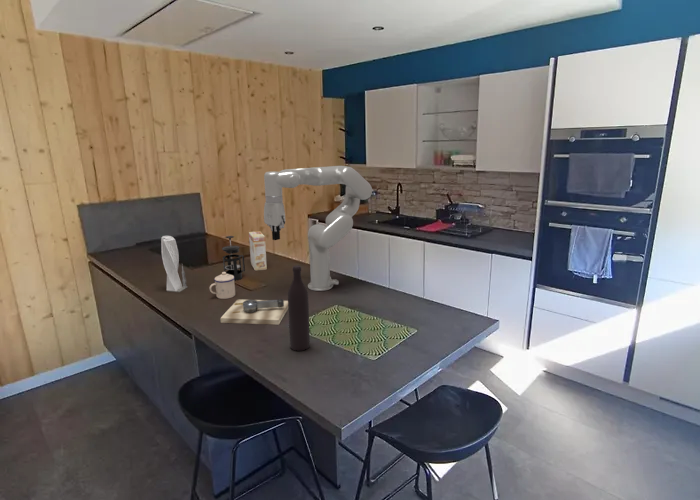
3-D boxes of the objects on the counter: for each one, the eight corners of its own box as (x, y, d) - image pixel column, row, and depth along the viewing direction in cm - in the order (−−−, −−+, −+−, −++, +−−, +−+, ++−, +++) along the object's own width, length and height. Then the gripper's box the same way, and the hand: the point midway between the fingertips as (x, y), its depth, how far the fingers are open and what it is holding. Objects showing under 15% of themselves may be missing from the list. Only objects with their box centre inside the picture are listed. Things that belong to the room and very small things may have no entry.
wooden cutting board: (290, 305, 183) (289, 299, 183) (279, 324, 164) (278, 318, 164) (237, 303, 185) (237, 297, 185) (220, 322, 166) (220, 316, 165)
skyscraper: (177, 293, 198) (170, 236, 191) (162, 292, 200) (155, 236, 192) (187, 287, 206) (181, 232, 199) (173, 286, 208) (166, 232, 200)
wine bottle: (310, 341, 150) (307, 263, 143) (309, 351, 144) (306, 269, 136) (291, 341, 150) (287, 263, 142) (289, 351, 143) (285, 269, 135)
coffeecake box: (267, 269, 233) (265, 236, 228) (254, 271, 231) (252, 237, 226) (262, 262, 247) (260, 230, 242) (250, 263, 244) (248, 231, 239)
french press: (226, 282, 212) (222, 239, 206) (220, 277, 220) (216, 236, 214) (248, 278, 219) (245, 236, 213) (241, 273, 226) (238, 233, 220)
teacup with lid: (230, 290, 201) (228, 268, 198) (239, 296, 194) (237, 272, 191) (206, 296, 194) (204, 273, 190) (214, 302, 187) (212, 278, 184)
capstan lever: (234, 312, 168) (233, 306, 168) (235, 306, 174) (235, 300, 173) (284, 309, 172) (283, 302, 171) (283, 303, 177) (283, 297, 177)
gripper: (256, 199, 186) (259, 238, 190) (278, 202, 176) (280, 243, 181) (269, 197, 191) (272, 235, 196) (291, 200, 182) (293, 240, 187)
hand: (276, 239), depth 188 cm, fingers closed
